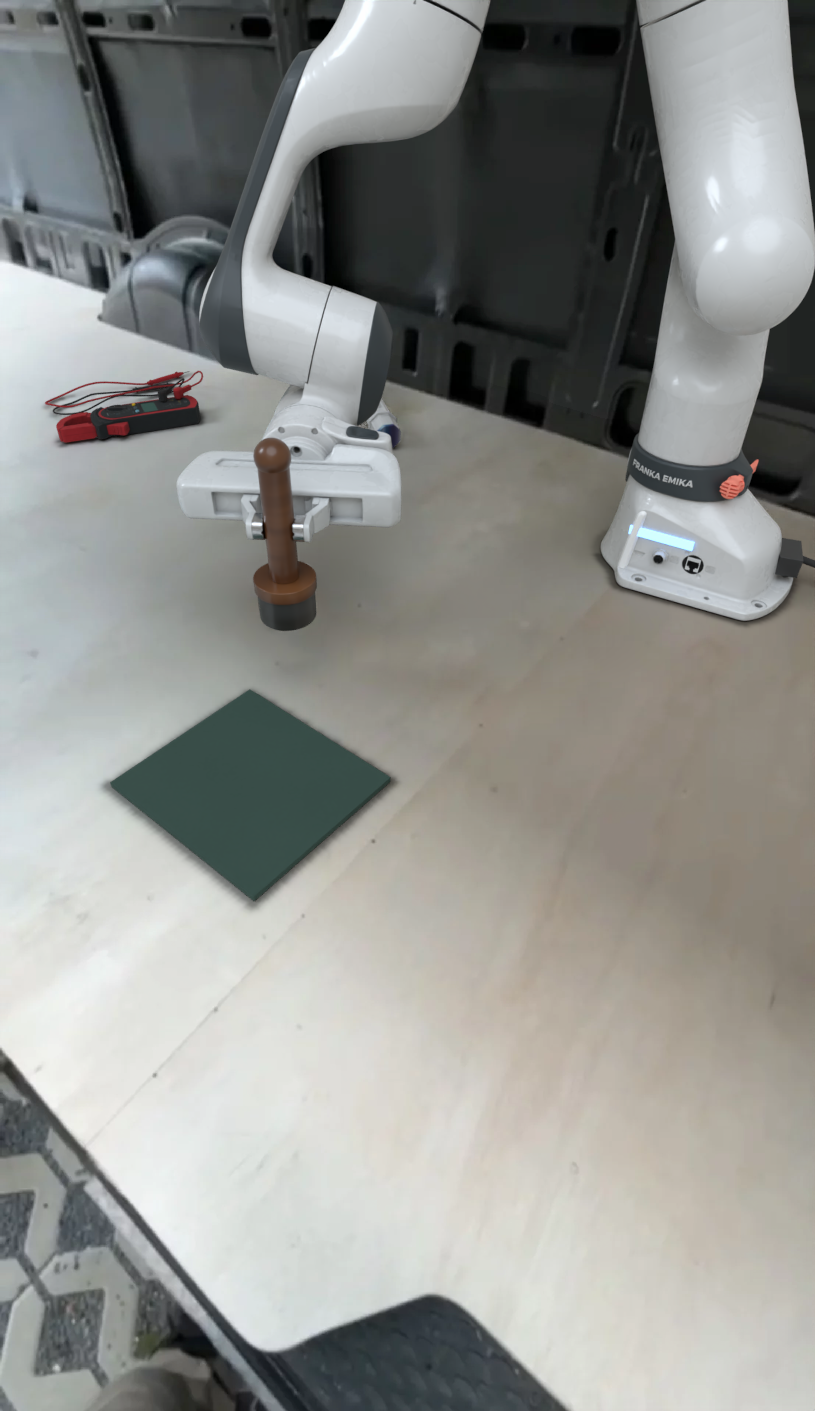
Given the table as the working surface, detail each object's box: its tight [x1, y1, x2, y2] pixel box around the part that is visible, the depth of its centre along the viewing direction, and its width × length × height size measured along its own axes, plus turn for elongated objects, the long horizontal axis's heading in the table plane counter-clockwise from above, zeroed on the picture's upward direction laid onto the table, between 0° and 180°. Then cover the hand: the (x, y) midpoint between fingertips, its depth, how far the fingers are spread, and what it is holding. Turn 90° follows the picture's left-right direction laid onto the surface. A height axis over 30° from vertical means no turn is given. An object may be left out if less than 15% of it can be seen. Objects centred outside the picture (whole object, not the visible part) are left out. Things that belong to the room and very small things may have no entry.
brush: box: [252, 438, 318, 632], centre depth 68 cm, size 6×6×17 cm
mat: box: [109, 689, 392, 902], centre depth 68 cm, size 18×16×1 cm
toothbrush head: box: [366, 398, 402, 449], centre depth 126 cm, size 5×7×25 cm
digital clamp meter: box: [44, 370, 204, 444], centre depth 127 cm, size 23×4×25 cm
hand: (278, 533), depth 67 cm, fingers closed on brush, 2 cm apart
